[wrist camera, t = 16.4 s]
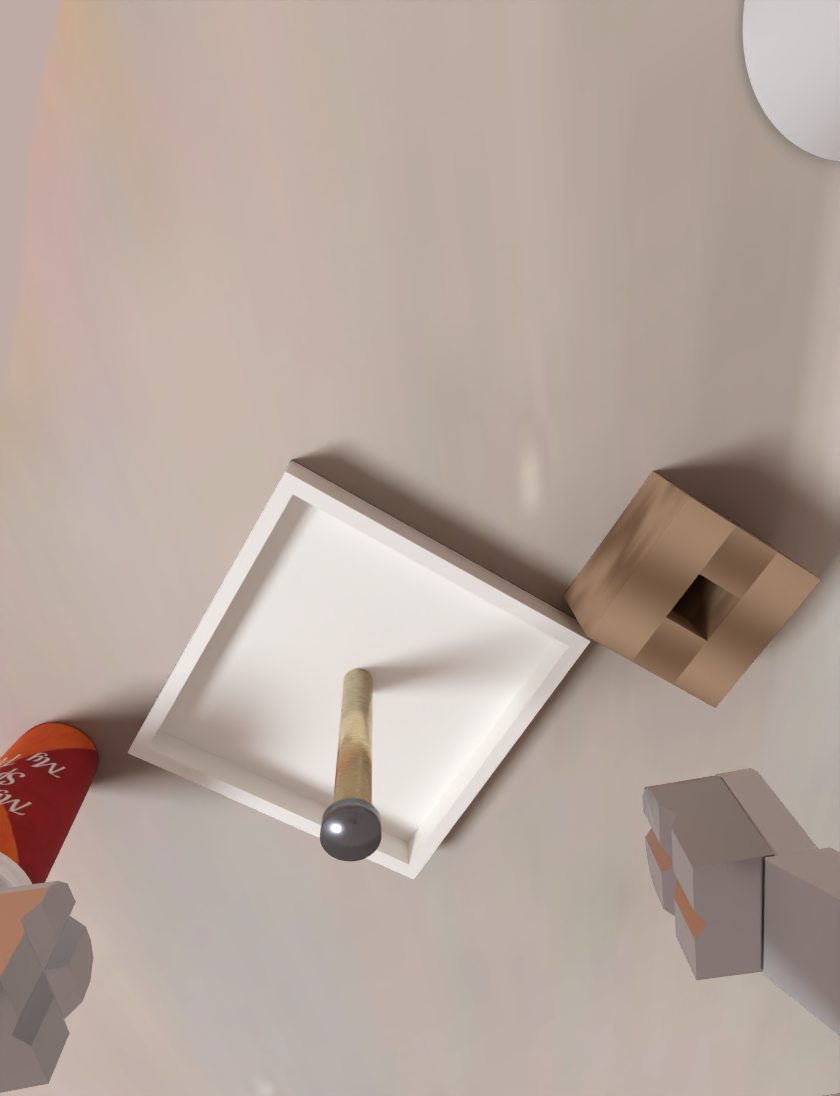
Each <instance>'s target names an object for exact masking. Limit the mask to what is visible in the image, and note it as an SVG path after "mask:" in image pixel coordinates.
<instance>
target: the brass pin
mask: <svg viewBox="0 0 840 1096" xmlns="http://www.w3.org/2000/svg"><path fill="white" fill-rule="evenodd" d="M372 728H373V678H372V676H371V674H370V673H369V672H368V671H366V670H364V669H361V668H356V669H352V670H350V671H349V672H347V673H346V675H345V677H344V680H343V692H342V704H341V716H340V727H339V739H338V751H337V763H336V774H335V786H334V798H333V804H331V805H330V806H329V807H328V808H327V809H326V810H325V812H324V814H323V816H322V820H321V830H320V841H321V845H322V847H323V848H324V850H325V851H326V852H327V853H328V854H329V855H331V856H332V857H334V858H336V859H339V860H343V861H358V860H362V859H364V858H367V857H368V856H370V855H371V854H373V853H374V852H375V851H376V850H377V848H378V847H379V845H380V842H381V816H380V814H379V812H378V810H377V809H376V808H375V807H374V806H373V805H372Z"/></svg>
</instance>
